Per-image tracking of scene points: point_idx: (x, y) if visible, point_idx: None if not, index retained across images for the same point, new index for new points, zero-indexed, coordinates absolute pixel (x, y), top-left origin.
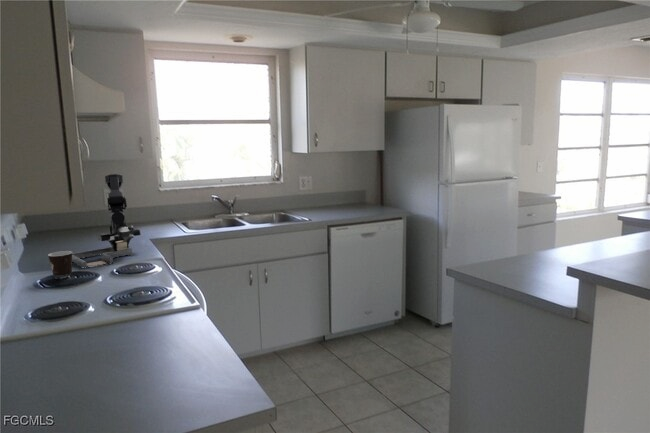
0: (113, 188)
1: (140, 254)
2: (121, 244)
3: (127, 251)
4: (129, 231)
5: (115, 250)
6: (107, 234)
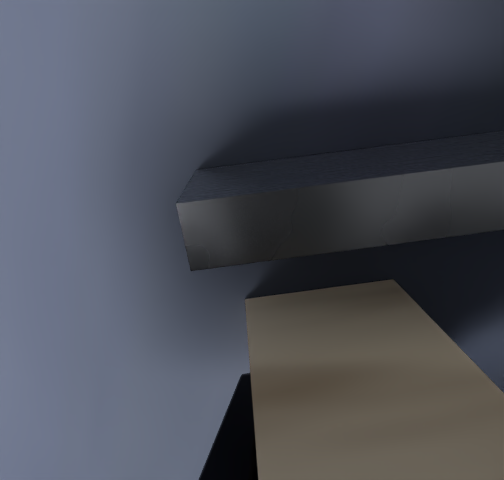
0: None
1: (38, 70)
2: (436, 474)
3: (302, 175)
4: None
5: None
6: None
